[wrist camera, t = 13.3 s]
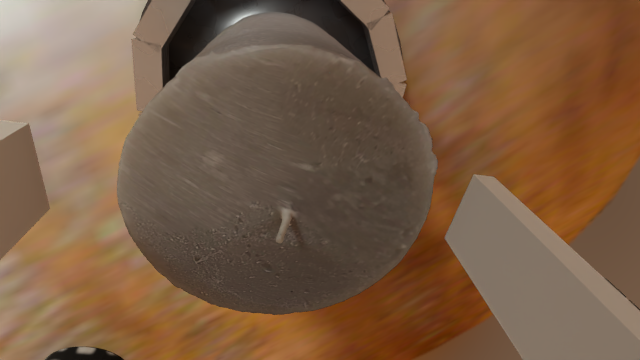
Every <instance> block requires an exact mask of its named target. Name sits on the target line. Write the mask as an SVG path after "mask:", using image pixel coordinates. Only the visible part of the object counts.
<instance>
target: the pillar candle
mask: <svg viewBox="0 0 640 360" xmlns="http://www.w3.org/2000/svg"><path fill="white" fill-rule="evenodd" d="M432 147H433V146H432V138H431V136H430V132H429V129H428V128H427V127H426V125H425V124H423V123H422V122H420V121H419V114H418V112H416V111H414V110H412V109H411V108H410V106H409V104H408V103H407V102H406V101H405V100H404V99H403V98H402V97H401V95H400V94H399V93H398V92H397V91H396V90H395V88H394V86H393V84H392V83H391V82H389V80H388V78H387V77H385V78H381V77H379V76H378V75H377V74H376V73H375V72H373V71H372V70H371V69H369V68H368V67H367V66H366V65H365V64H364V63H362V62H361V61H360V60H359V59H358V58H356V57H355V56H354V55H353V54H352V53H351V52H349V51H348V50H347V49H346V48H345V47H344V46H342V45H341V44H340V43H339V42H338V41H337V40H336V39H334V38H333V37H332V36H330V35H329V34H328V33H327V32H325V31H324V30H323V29H322V28H320V27H319V26H318V25H316V24H315V23H313V22H311V21H309V20H307V19H304V18H301V17H298V16H296V15H292V14H288V13H282V12H264V13H258V14H253V15H250V16H247V17H244V18H242V19H241V20H239V21H238V22H236V23H235V24H233V25H230V26H229V27H227V28H226V29H224V30H223V31H222V32H221V33H220V34H218V35H217V36H216V37H215V38H214V39H213V40H212V41H211V42H210V43H209V44H207V46H206V47H205V48H204V49H203V50H202V51H201V52H200V53H199V54H198V55H197V56H196V57H195V58H194V59H193V60H192V61H190V62H189V63H187V64H186V65H184V66H183V67H182V68H181V69H180V70H179V72H178V73H177V74H176V76H175V77H174V78H173V79H172V80H170V81H169V82H168V83H166V85H165V87H163V88H162V89H161V90H160V91H159V92H158V93H157V94H156V95H155V96H154V97H153V99H152V100H151V101H150V102H149V103H148V104H147V105H146V107H145V108H144V110H143V112H142V113H141V115H140V116H139V118H138V119H137V121H136V122H135V124H134V126H133V127H132V130H131V131H130V132H129V134H128V135H127V137H126V140H125V143H124V146H123V150H122V154H121V160H120V162H119V170H118V182H117V197H118V204H119V207H120V210H121V213H122V216H123V219H124V222H125V225H126V227H127V229H128V232H129V234H130V236H131V237H132V239H133V241H134V242H135V243H136V245H137V246H138V248H139V249H140V251H141V252H142V253H143V255H144V256H145V257H146V258H147V260H148V261H150V263H151V264H152V265H153V266H154V268H155V269H156V270H157V271H158V272H159V273H160V274H162V275H163V276H165V277H166V278H167V279H168V280H169V281H170V282H171V283H172V284H173V285H174V286H176V287H178V288H181V289H183V290H184V291H186V292H188V293H189V294H191V295H194V296H196V297H198V298H201V299H202V300H204V301H207V302H208V303H210V304H214V305H217V306H219V307H224V308H229V309H233V310H236V311H241V312H251V313H263V314H273V315H277V314H280V315H282V314H290V313H294V312H305V311H306V312H307V311H313V310H317V309H322V308H324V307H328V306H331V305H334V304H336V303H339V302H343V301H345V300H347V299H349V298H351V297H353V296H355V295H357V294H360V293H361V292H362V291H364V290H366V289H368V288H369V287H370V286H372V285H373V284H374V283H376V282H377V281H379V280H380V279H381V278H383V277H384V276H385V275H386V274H387V273H388V272H389V271H391V270H392V269H393V268H394V267H395V266H396V265H397V264H398V263H399V262H400V261H401V260H402V259H403V257H404V256H405V255H406V253H407V252H408V250H409V249H410V247H411V246H412V244H413V243H414V241H415V240H416V239H417V237H418V234H419V233H420V231H421V228H422V226H423V224H424V222H425V220H426V218H427V214H428V211H429V209H430V204H431V196H432V193H433V183H434V176H435V174H436V170H437V168H438V167H437V164H438V160H437V159H436V155H435V154H433V152H432Z"/></svg>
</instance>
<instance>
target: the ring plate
mask: <svg viewBox="0 0 640 360" xmlns="http://www.w3.org/2000/svg"><path fill="white" fill-rule="evenodd" d="M389 9H390V8H389V7H388V6H387V5H386V3H385V2H384V0H148V2H147V4H146V6H145V8H144V10H143V12H142V16H141V19H140V22H139V24H138V26H137V28H136V29H135V31H134V33H133V35H134V36H136V38H134V39H132V51H133V64H134V77H135V91H136V104H137V110H139V111H142V112H143V110H144V108H145V107H146V105H147V104H148V103H149V102H150V101H151V100H152V99H153V97H154V96H155V95H156V94H157V93H158V92H159V91H160V90H161V89H162V88H163V87H165V85H166V83H168V82H169V81H170V80H172V79H173V78H174V77H175V76H176V74H177V73H178V72H179V70H180V69H181V68H182V67H183V66H184V65H186V64H187V63H189V62H190V61H192V60H193V59H194V58H195V57H196V56H197V55H198V54H199V53H200V52H201V51H202V50H203V49H204V48H205V47H206V46H207V44H209V43H210V42H211V41H212V40H213V39H214V38H215V37H216V36H217V35H218V34H220V33H221V32H222V31H223V30H224V29H226V28H227V27H229V26H230V25H233V24H235V23H236V22H238V21H239V20H241V19H242V18H244V17H247V16H250V15H253V14H258V13H264V12H282V13H288V14H292V15H296V16H298V17H301V18H304V19H307V20H309V21H311V22H313V23H315V24H316V25H318V26H319V27H320V28H322V29H323V30H324V31H325V32H327V33H328V34H329V35H330V36H332V37H333V38H334V39H336V40H337V41H338V42H339V43H340V44H341V45H342V46H344V47H345V48H346V49H347V50H348V51H349V52H351V53H352V54H353V55H354V56H355V57H356V58H358V59H359V60H360V61H361V62H362V63H364V64H365V65H366V66H367V67H368V68H369V69H371V70H372V71H373V72H375V73H376V74H377V75H378V76H379V77H381V78H385V77H387V78H388V80H389V82H391V83H392V84H393V86H394V88H395V90H396V91H397V92H398V93H399V94H400V95H401V97H402V98H403V95H404V92H405V88H406V85H407V84H406V83H404V82H403V81H405V80H407V78H406V74H405V69H404V65H403V58H402V51H401V45H400V40H399V36H398V33H397V29H396V26H395V23H394V20H393V15H392V13H390V11H389ZM142 112H141V113H142ZM141 113H140V114H139V116H140V115H141Z"/></svg>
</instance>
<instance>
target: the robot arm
mask: <svg viewBox="0 0 640 360" xmlns="http://www.w3.org/2000/svg"><path fill="white" fill-rule="evenodd" d="M49 209H50V207H49V203H48V199H47V195H46V191H45V187H44V183H43V179H42V175H41V171H40V167H39V162H38V158H37V154H36V150H35V146H34V142H33V138H32V134H31V130H30V126H29V123H21V122H12V121H4V120H0V260H1V259H2V257H3V256H4V255H5V254H6V253H7V252H8V251H9V250H10V249H11V248H12V247H13V246H14V245H15V244H16V243H17V242H18V241H19V240H20V239H21V238H22V237H23V236H24V235H25V234H26V233H27V232H28V231H29V230H30V229H31V228H32V227H33V226H34V224H35V223H36V222H37V221H38V220H39V219H40V218H41V217H42V216H43V215H44V214H45V213H46V212H47V211H48V210H49ZM445 240H446V241H447V243H448V244H449V246H450V248H451V249H452V251H453V252H454V254H455V255H456V257H457V258H458V260H459V262H460V263H461V265H462V266H463V268H464V269H465V271H466V272H467V274H468V275H469V277H470V279H471V280H472V282H473V283H474V285H475V286H476V288H477V289H478V291H479V292H480V294H481V296H482V297H483V299H484V300H485V302H486V303H487V305H488V306H489V308H490V310H491V311H492V313H493V314H494V316H495V317H496V319H497V320H498V322H499V323H500V325H501V327H502V328H503V330H504V331H505V333H506V334H507V336H508V337H509V339H510V341H511V342H512V344H513V345H514V347H515V348H516V350H517V351H518V353H519V354H520V356H521V358H522V359H523V360H640V309H639V308H638V307H637V306H636V305H634V304H633V303H632V302H631V301H630V300H627V299H626V296H625V295H624V294H623V293H621V292H620V291H619V290H618V289H617V288H616V287H615V286H614V285H613V284H612V283H610V282H609V281H608V280H607V279H605V278H604V277H603V276H601V275H600V274H599V273H598V272H597V271H596V270H595V269H594V268H593V267H592V266H591V265H589V264H588V263H587V262H586V261H585V260H584V259H583V258H582V257H581V256H579V254H577V253H576V252H575V251H574V250H573V249H572V248H571V247H570V246H569V245H568V244H567V243H565V242H564V241H563V240H562V239H561V238H560V237H559V236H558V235H557V234H556V233H555V232H553V231H552V230H551V229H550V228H549V227H548V226H547V225H546V224H545V223H544V222H543V221H542V220H540V219H539V218H538V217H537V216H536V215H535V214H534V213H533V212H532V211H531V210H530V209H528V208H527V207H526V206H525V205H524V204H523V203H522V202H521V201H520V200H519V199H518V198H516V197H515V196H514V195H513V194H512V193H511V192H510V191H509V190H508V189H507V188H506V187H504V186H503V185H502V184H501V183H500V182H499V181H498V180H497V179H496V178H495V177H492V176H483V175H475V174H474V175H473V177H472V179H471V181H470V183H469V185H468V188H467V190H466V192H465V194H464V196H463V199H462V201H461V203H460V205H459V207H458V209H457V212H456V214H455V216H454V218H453V220H452V223H451V225H450V227H449V229H448V231H447V233H446V236H445Z"/></svg>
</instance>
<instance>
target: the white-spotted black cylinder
mask: <svg viewBox="0 0 640 360" xmlns="http://www.w3.org/2000/svg"><path fill="white" fill-rule="evenodd" d="M45 360H123V359H122V358H120V357H119V356H117V355H115V354H113V353H111V352H108V351H105V350H101V349H97V348H90V347H72V348H66V349H62V350H59V351H57V352H54V353H52V354H51V355H49V356H48V357H47V358H46V359H45Z"/></svg>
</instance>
